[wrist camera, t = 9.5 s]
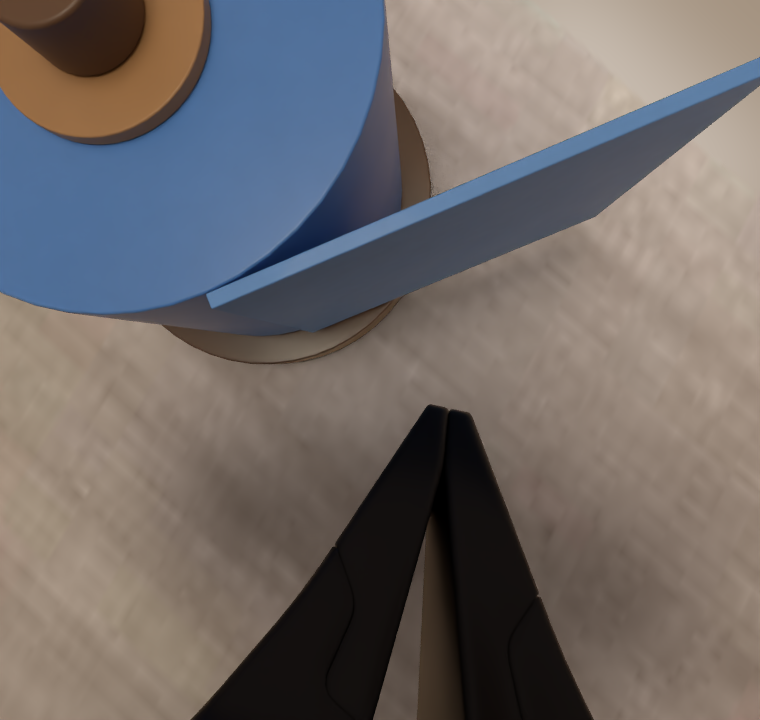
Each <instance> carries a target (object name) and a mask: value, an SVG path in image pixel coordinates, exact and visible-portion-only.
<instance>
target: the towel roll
mask: <svg viewBox="0 0 760 720" xmlns="http://www.w3.org/2000/svg"><path fill="white" fill-rule="evenodd" d="M759 86H760V57H759V58H757V59H755V60H752V61H750V62H747V63H745V64H743V65H741V66H738V67H736V68H734V69H731V70H729V71H727V72H724V73H722V74H720V75H717V76H715V77H713V78H710V79H708V80H706V81H703V82H701V83H698V84H696V85H694V86H691V87H689V88H687V89H684V90H682V91H680V92H677V93H675V94H673V95H670V96H668V97H666V98H663V99H661V100H659V101H656V102H654V103H652V104H649V105H647V106H644V107H642V108H640V109H637V110H635V111H633V112H630V113H628V114H626V115H623V116H621V117H619V118H616V119H614V120H612V121H609V122H607V123H605V124H602V125H600V126H598V127H595V128H593V129H591V130H588V131H586V132H584V133H581V134H579V135H577V136H574V137H572V138H570V139H567V140H565V141H563V142H560V143H558V144H556V145H553V146H551V147H549V148H546V149H544V150H542V151H539V152H537V153H534V154H532V155H530V156H527V157H525V158H523V159H520V160H518V161H516V162H513V163H511V164H509V165H506V166H504V167H502V168H499V169H497V170H495V171H492V172H490V173H488V174H485V175H483V176H481V177H478V178H476V179H474V180H471V181H469V182H467V183H464V184H462V185H460V186H457V187H455V188H453V189H450V190H448V191H446V192H443V193H441V194H439V195H436V196H434V197H431V198H429V199H427V200H424V201H422V202H420V203H417V204H415V205H413V206H410V207H408V208H406V209H403V210H401V198H402V182H401V167H400V156H399V146H398V135H397V124H396V114H395V103H394V92H393V82H392V71H391V60H390V49H389V39H388V28H387V17H386V7H385V0H0V292H1V293H3V294H6V295H8V296H11V297H14V298H16V299H19V300H22V301H25V302H27V303H30V304H33V305H35V306H40V307H45V308H49V309H54V310H58V311H63V312H67V313H74V314H82V315H90V316H98V317H106V318H114V319H121V320H129V321H137V322H145V323H153V324H161V325H168V326H176V327H184V328H192V329H200V330H207V331H215V332H223V333H231V334H239V335H251V336H269V335H280V334H285V333H290V332H295V331H298V330H303V331H308V332H312V333H313V332H315V331H318V330H320V329H323V328H325V327H328V326H330V325H332V324H335V323H337V322H340V321H342V320H345V319H347V318H349V317H352V316H354V315H357V314H359V313H362V312H364V311H367V310H369V309H371V308H374V307H376V306H379V305H381V304H384V303H386V302H388V301H391V300H393V299H396V298H398V297H401V296H403V295H406V294H408V293H410V292H413V291H415V290H418V289H420V288H423V287H425V286H427V285H430V284H432V283H435V282H437V281H440V280H442V279H444V278H447V277H449V276H452V275H454V274H457V273H459V272H462V271H464V270H466V269H469V268H471V267H474V266H476V265H479V264H481V263H483V262H486V261H488V260H491V259H493V258H496V257H498V256H500V255H503V254H505V253H508V252H510V251H513V250H515V249H518V248H520V247H522V246H525V245H527V244H530V243H532V242H535V241H537V240H539V239H542V238H544V237H547V236H549V235H552V234H554V233H557V232H559V231H561V230H564V229H566V228H569V227H571V226H574V225H576V224H578V223H581V222H583V221H586V220H588V219H591V218H593V217H595V216H597V215H598V214H599V213H600V212H602V211H603V210H604V209H605V208H607V207H608V206H609V205H610V204H612V203H613V202H614V201H615V200H617V199H618V198H619V197H620V196H622V195H623V194H624V193H625V192H627V191H628V190H629V189H631V188H632V187H633V186H634V185H636V184H637V183H638V182H639V181H641V180H642V179H643V178H644V177H646V176H647V175H648V174H649V173H651V172H652V171H653V170H654V169H656V168H657V167H658V166H659V165H661V164H662V163H663V162H664V161H666V160H667V159H668V158H669V157H671V156H672V155H673V154H674V153H676V152H677V151H678V150H679V149H681V148H682V147H683V146H685V145H686V144H687V143H688V142H690V141H691V140H692V139H693V138H695V137H696V136H697V135H698V134H700V133H701V132H702V131H703V130H705V129H706V128H707V127H708V126H709V125H711V124H712V123H713V122H715V121H716V120H717V119H718V118H720V117H721V116H722V115H723V114H724V113H726V112H727V111H728V110H730V109H731V108H732V107H733V106H735V105H736V104H737V103H739V102H740V101H741V100H742V99H744V98H745V97H746V96H747V95H748V94H750V93H751V92H752V91H754V90H755V89H756V88H757V87H759Z"/></svg>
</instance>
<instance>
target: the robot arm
mask: <svg viewBox="0 0 760 720" xmlns="http://www.w3.org/2000/svg"><path fill="white" fill-rule="evenodd" d="M425 532H426V544H425V564H424V585H423V606H422V626H421V647H420V668H419V688H418V709H417V720H594V719H593V717H592V715H591V713H590V711H589V709H588V707H587V705H586V703H585V701H584V699H583V697H582V695H581V692H580V690H579V688H578V686H577V684H576V682H575V679H574V677H573V675H572V673H571V671H570V669H569V666H568V664H567V662H566V660H565V658H564V655H563V653H562V650H561V648H560V645H559V643H558V640H557V638H556V635H555V633H554V631H553V628H552V626H551V623H550V621H549V618H548V615H547V613H546V610H545V607H544V605H543V602H542V599H541V598H540V597H537V595H538V589H537V587H536V584H535V582H534V579H533V576H532V574H531V571H530V568H529V566H528V563H527V560H526V558H525V555H524V552H523V550H522V547H521V544H520V542H519V539H518V537H517V534H516V531H515V529H514V526H513V523H512V521H511V518H510V515H509V513H508V510H507V507H506V505H505V502H504V499H503V497H502V494H501V492H500V489H499V486H498V484H497V481H496V478H495V476H494V473H493V470H492V468H491V465H490V462H489V460H488V457H487V454H486V452H485V449H484V447H483V444H482V441H481V439H480V436H479V433H478V431H477V428H476V425H475V423H474V420H473V418H472V416H471V414H470V413H468V412H464V411H459V410H455V409H451V410H450V411H448V409H447V408H445V407H441V406H436V405H432V404H430V405H428V406H427V407H426V408H425V410H424V411H423V413H422V414H421V416H420V417H419V419H418V420H417V422H416V423H415V424H414V426H413V427H412V429H411V430H410V432H409V433H408V435H407V436H406V438H405V439H404V441H403V442H402V444H401V445H400V447H399V448H398V450H397V451H396V453H395V454H394V456H393V457H392V459H391V460H390V462H389V463H388V465H387V466H386V468H385V469H384V471H383V472H382V474H381V475H380V477H379V478H378V480H377V481H376V483H375V484H374V486H373V487H372V489H371V490H370V492H369V493H368V495H367V496H366V498H365V499H364V501H363V502H362V504H361V505H360V507H359V508H358V510H357V511H356V513H355V514H354V516H353V517H352V519H351V520H350V522H349V523H348V525H347V526H346V528H345V529H344V531H343V532H342V534H341V535H340V537H339V538H338V540H337V541H336V543H335V546H334V547H332V548H331V550H330V551H329V553H328V554H327V556H326V557H325V559H324V560H323V562H322V563H321V565H320V566H319V567H318V569H317V570H316V572H315V573H314V574H313V576H312V577H311V579H310V580H309V581H308V583H307V584H306V586H305V587H304V588H303V590H302V591H301V592H300V594H299V595H298V596H297V597H296V599H295V600H294V601H293V602H292V604H291V605H290V606H289V607H288V609H287V610H286V611H285V612H284V614H283V615H282V616H281V617H280V619H279V620H278V621H277V622H276V623H275V625H274V626H273V627H272V628H271V629H270V630H269V631H268V633H267V634H266V635H265V636H264V637H263V638H262V640H261V641H260V642H259V643H258V644H257V645H256V647H255V648H254V649H253V650H252V651H251V652H250V654H249V655H248V656H247V657H246V658H245V659H244V661H243V662H242V663H241V664H240V665H239V666H238V668H237V669H236V670H235V671H234V672H233V673H232V675H231V676H230V677H229V678H228V679H227V680H226V681H225V683H224V684H223V685H222V686H221V687H220V688H219V690H218V691H217V692H216V693H215V694H214V695H213V696H212V697H211V699H210V700H209V701H208V702H207V703H206V704H205V705H204V706H203V707H202V708H201V709H200V710H199V712H198V713H197V714H196V715H195V716H194V717H193V718H192V719H191V720H373V717H374V714H375V710H376V707H377V703H378V700H379V696H380V692H381V689H382V685H383V682H384V678H385V675H386V671H387V667H388V664H389V660H390V657H391V653H392V650H393V646H394V643H395V639H396V635H397V632H398V628H399V625H400V621H401V618H402V614H403V610H404V607H405V603H406V600H407V596H408V593H409V589H410V585H411V582H412V578H413V575H414V571H415V568H416V564H417V560H418V557H419V553H420V550H421V546H422V543H423V539H424V536H425Z"/></svg>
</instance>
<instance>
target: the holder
mask: <svg viewBox="0 0 760 720" xmlns="http://www.w3.org/2000/svg"><path fill="white" fill-rule="evenodd" d="M393 92H394V103H395V114H396V124H397V135H398V146H399V156H400V167H401V182H402V198H401V210H403V209H406V208H408V207H410V206H413V205H415V204H417V203H420V202H422V201H424V200H427V199H429V198H431V182H430V174H429V165H428V160H427V156H426V152H425V148H424V144H423V141H422V138H421V136H420V133H419V131H418V128H417V126H416V123H415V121H414V119H413V117H412V115H411V114H410V112H409V110H408V108H407V107H406V105H405V103H404V101H403V100H402V99H401V98H400V96H399V95H398V94H397V92H396V91H395V90H394V88H393ZM401 297H402V296H401ZM401 297H398V298H396V299H393V300H391V301H388V302H386V303H384V304H381V305H379V306H376V307H374V308H371V309H369V310H367V311H364V312H362V313H359V314H357V315H354V316H352V317H349V318H347V319H345V320H342V321H340V322H337V323H335V324H332V325H330V326H328V327H325V328H323V329H320V330H318V331H315V332H313V333H312V332H308V331H303V330H298V331H295V332H290V333H285V334H280V335H269V336H251V335H239V334H231V333H223V332H215V331H207V330H200V329H192V328H184V327H176V326H168V325H162V326H164V327H165V328H166V329H167V330H169V331H170V332H171V333H172V334H173V335H175V336H176V337H178V338H180V339H181V340H183V341H184V342H186V343H188V344H189V345H191V346H193V347H195V348H197V349H199V350H202V351H204V352H206V353H208V354H211V355H214V356H217V357H221V358H224V359H227V360H231V361H237V362H244V363H250V364H284V363H293V362H301V361H306V360H310V359H314V358H318V357H322V356H325V355H327V354H330V353H332V352H335V351H337V350H340V349H342V348H344V347H345V346H347V345H349V344H351V343H352V342H354V341H356V340H358V339H359V338H361V337H362V336H363V335H365V334H366V333H367V332H369V331H370V330H371V329H373V328H374V327H375V326H376V325H377V324H378V323H379V322H380V321H381V320H382V319H383V318H384V317H385V316H386V315H387V314H388V313H389V312H390V311H391V310H392V309H393V307H394V306H395V305H396V303H397V302H398V301H399V300H400V298H401Z"/></svg>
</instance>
